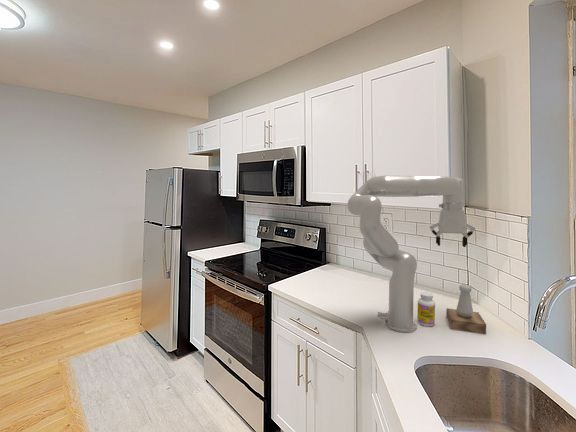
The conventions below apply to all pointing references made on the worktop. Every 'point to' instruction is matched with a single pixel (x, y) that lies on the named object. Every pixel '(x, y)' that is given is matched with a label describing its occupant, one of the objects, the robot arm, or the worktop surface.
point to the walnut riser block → (466, 322)
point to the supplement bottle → (426, 309)
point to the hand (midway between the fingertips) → (451, 245)
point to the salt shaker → (465, 302)
